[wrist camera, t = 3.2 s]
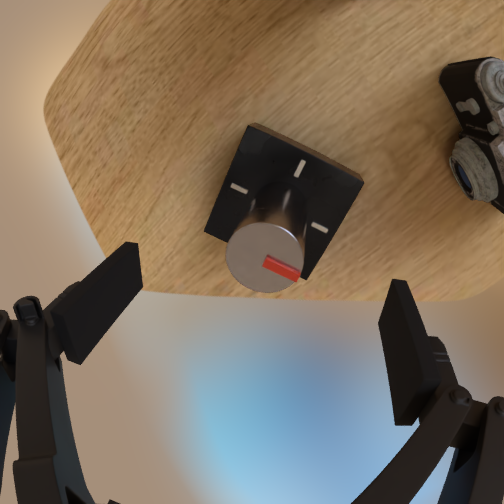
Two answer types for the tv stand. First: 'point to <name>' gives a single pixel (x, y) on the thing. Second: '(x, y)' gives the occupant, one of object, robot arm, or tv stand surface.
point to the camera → (478, 127)
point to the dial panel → (291, 171)
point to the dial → (270, 239)
